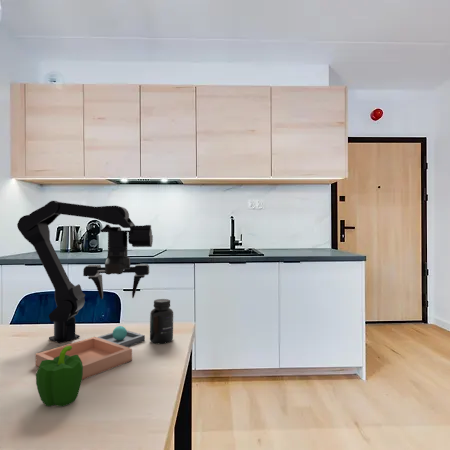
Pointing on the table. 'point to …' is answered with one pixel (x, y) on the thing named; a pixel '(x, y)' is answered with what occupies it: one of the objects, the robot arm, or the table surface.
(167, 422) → the table surface
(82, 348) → the dish
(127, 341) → the tray
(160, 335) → the supplement bottle
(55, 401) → the bell pepper
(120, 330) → the ball
